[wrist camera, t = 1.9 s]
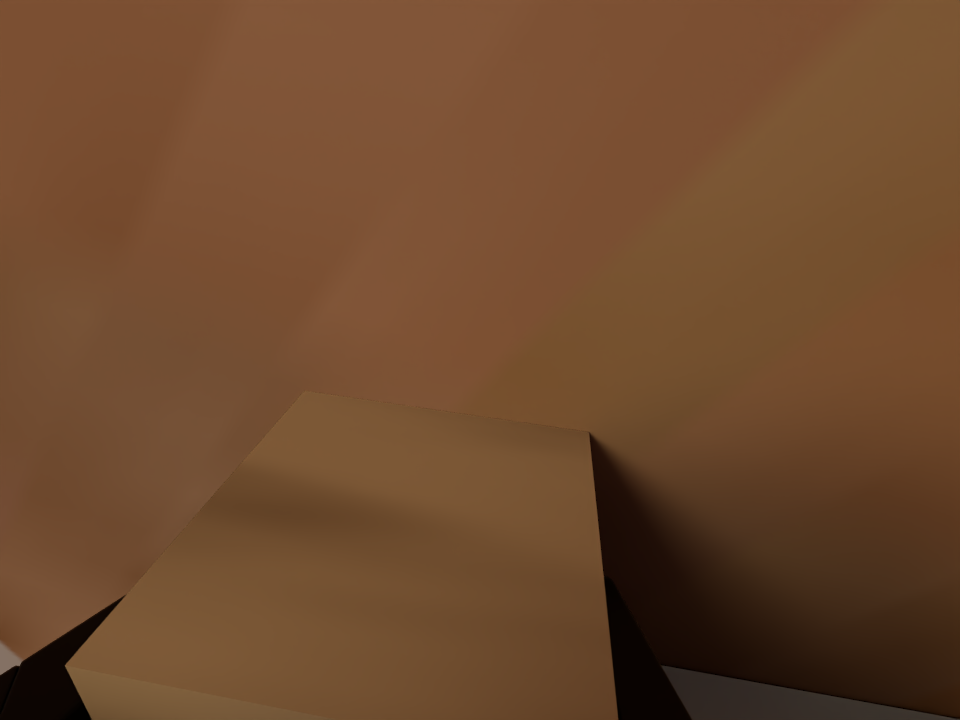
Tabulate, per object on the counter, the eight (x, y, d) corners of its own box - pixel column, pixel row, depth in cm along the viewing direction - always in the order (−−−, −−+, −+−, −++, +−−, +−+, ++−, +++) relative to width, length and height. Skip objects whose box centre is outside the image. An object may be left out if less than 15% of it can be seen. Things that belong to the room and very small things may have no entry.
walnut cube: (546, 618, 11) (539, 970, 6) (324, 578, 11) (174, 885, 7) (588, 429, 9) (624, 776, 4) (307, 388, 9) (65, 665, 5)
